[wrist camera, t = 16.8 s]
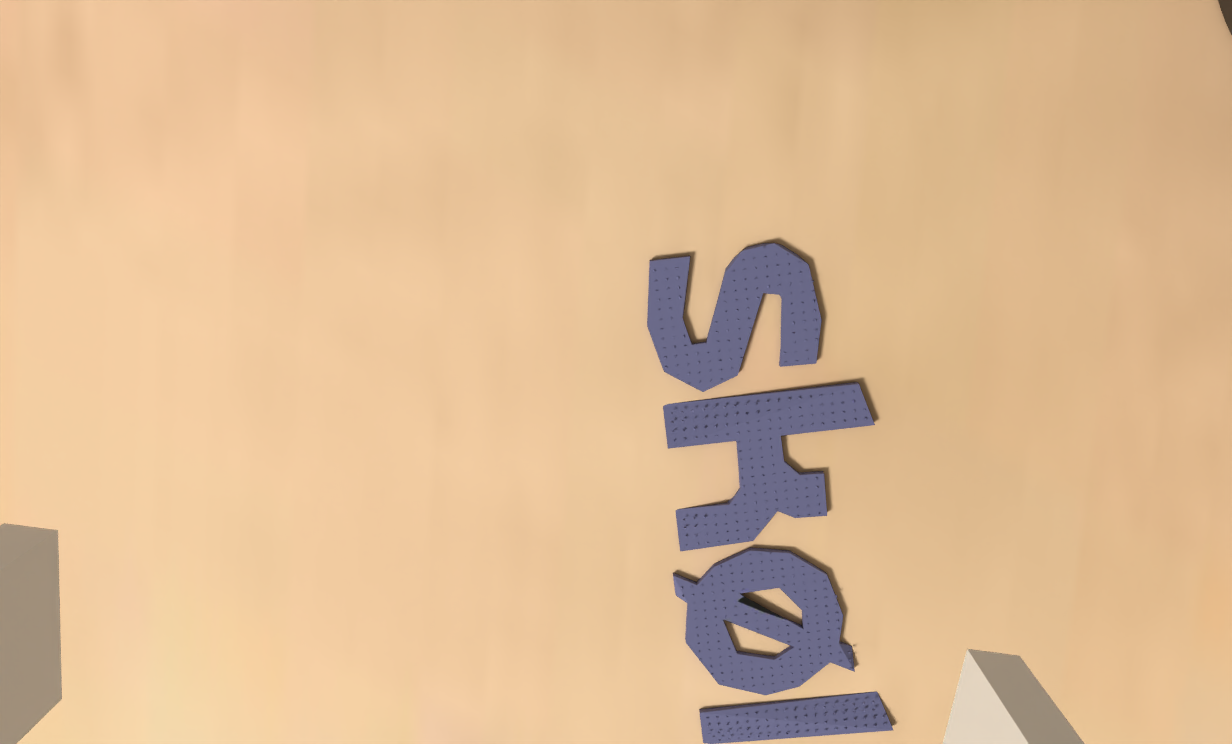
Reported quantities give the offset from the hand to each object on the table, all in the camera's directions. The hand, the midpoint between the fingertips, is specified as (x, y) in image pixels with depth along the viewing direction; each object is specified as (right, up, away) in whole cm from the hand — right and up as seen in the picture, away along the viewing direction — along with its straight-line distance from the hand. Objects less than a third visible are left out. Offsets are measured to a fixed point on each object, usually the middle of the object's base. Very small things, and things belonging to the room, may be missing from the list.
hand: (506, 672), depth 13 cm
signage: (+9, -4, +31) cm, 33 cm away
